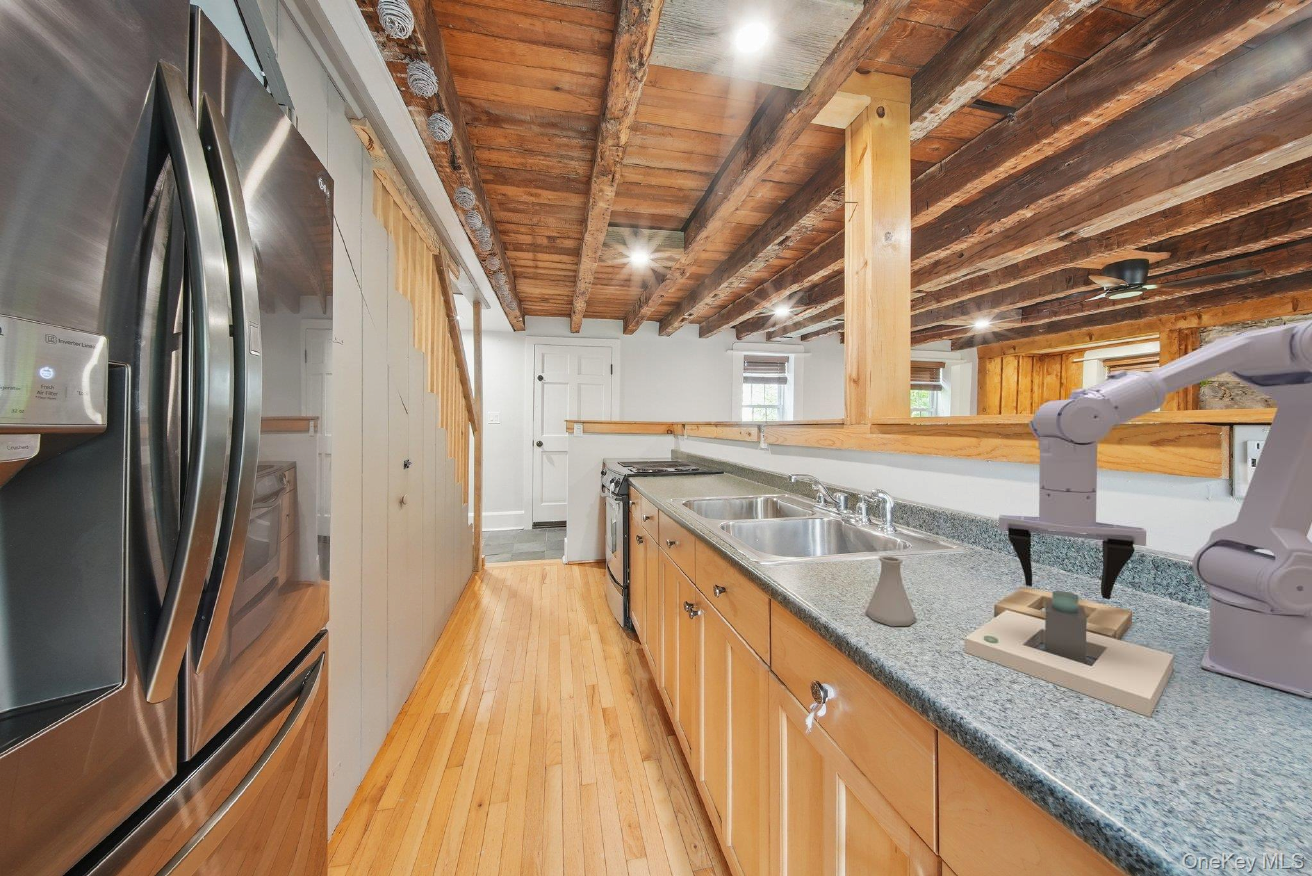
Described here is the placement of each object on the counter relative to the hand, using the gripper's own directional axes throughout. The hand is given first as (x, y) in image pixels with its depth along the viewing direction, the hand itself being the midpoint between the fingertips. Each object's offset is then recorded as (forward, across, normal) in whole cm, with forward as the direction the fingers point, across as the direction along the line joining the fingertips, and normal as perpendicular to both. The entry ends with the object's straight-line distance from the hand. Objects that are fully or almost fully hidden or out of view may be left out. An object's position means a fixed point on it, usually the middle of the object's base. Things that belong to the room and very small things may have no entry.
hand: (1065, 590), depth 62 cm
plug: (+10, 0, 0) cm, 10 cm away
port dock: (+10, 0, 0) cm, 10 cm away
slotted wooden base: (+10, 0, -16) cm, 19 cm away
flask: (+10, +22, -1) cm, 24 cm away
